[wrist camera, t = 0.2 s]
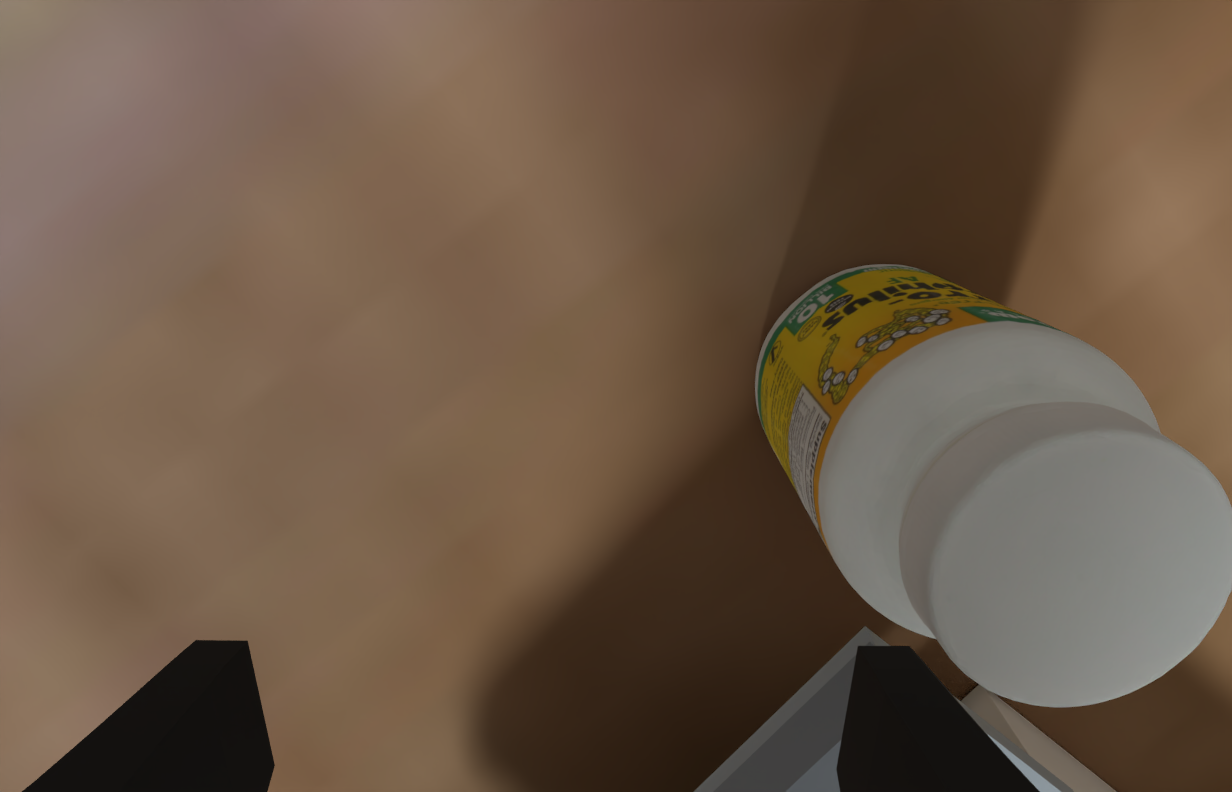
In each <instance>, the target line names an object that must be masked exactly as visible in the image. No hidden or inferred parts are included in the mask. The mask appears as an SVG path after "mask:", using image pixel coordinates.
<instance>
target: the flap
mask: <svg viewBox="0 0 1232 792" xmlns="http://www.w3.org/2000/svg"><path fill="white" fill-rule="evenodd" d="M858 646H890V645H889V644H887V643H886V642H885V641H884V640H882V639H881V638H880V637H878V636H877V635H876V634H875V633H873V632H872V631H871V630H870V629H868V628H867V627H866V626H865V627H863V628H862V629H861V630H860V631H859V632H858V633H857V634H856V635H855V636H854V637H853V638H852V639H851V640H850V641H849V642H848V643H847V644H846V645H845V646H844V647H843V648H842V649H841V650H840V651H839V652H838V653H837V654H836V655H834V656H833V657H832V658H831V659H830V660H829V661H828V662H827V663H826V664H825V665H824V666H823V667H822V668H821V669H820V670H819V671H818V672H817V673H816V674H815V675H814V676H813V677H812V678H811V679H810V680H809V681H808V682H807V683H806V684H804V685H803V686H802V687H801V688H800V689H799V690H798V691H797V692H796V693H795V694H794V695H793V696H792V697H791V698H790V699H789V700H788V701H787V702H786V703H785V704H784V705H783V706H782V707H781V708H780V709H779V710H778V711H777V712H776V713H774V714H773V715H772V716H771V717H770V718H769V719H768V720H767V721H766V722H765V723H764V724H763V725H762V726H761V727H760V728H759V729H758V730H757V731H756V732H755V733H754V734H753V735H752V736H751V737H750V738H749V739H748V740H747V741H746V742H744V743H743V744H742V745H741V746H740V747H739V748H738V749H737V750H736V751H735V752H734V753H733V754H732V755H731V756H730V757H729V758H728V759H727V760H726V761H725V762H724V763H723V764H722V765H721V766H720V767H719V768H718V769H717V770H716V771H714V772H713V773H712V774H711V775H710V776H709V777H708V778H707V779H706V780H705V781H704V782H703V783H702V784H701V785H700V786H699V787H698V788H697V789H696V790H695V791H694V792H840V787H839V782H838V776H837V771H836V768H837V762H838V756H839V751H840V745H841V739H842V733H843V728H844V722H845V716H846V711H847V705H848V699H849V693H850V688H851V682H852V676H853V671H854V665H855V659H856V653H857V648H858ZM954 697H955V696H954ZM955 699H956V700H957V701H958V702H959V703H960V704H961V705H962V707H963V708H964V709H965V710H966V711H967V712H968V713H969V715H970V716H971V717H972V718H973V719H974V720H975V721H976V723H977V724H978V725H979V726H980V727H981V728H982V729H983V730H984V732H985V733H986V734H987V735H988V736H989V737H990V738H991V739H992V741H993V742H994V743H995V744H996V745H997V746H998V747H999V748H1000V749H1001V750H1002V752H1003V753H1004V754H1005V755H1006V756H1007V757H1008V758H1009V759H1010V760H1011V761H1012V762H1013V764H1014V765H1015V766H1016V767H1017V768H1018V769H1019V770H1020V771H1021V772H1022V773H1023V774H1024V775H1025V776H1026V777H1027V778H1028V779H1029V781H1030V782H1031V783H1032V784H1033V785H1034V786H1035V787H1036V788H1037V789H1038V790H1039V791H1040V792H1074V791H1073V790H1072V789H1071V788H1070V787H1069V786H1067V785H1066V784H1065V783H1064V782H1062V781H1061V780H1060V779H1059V778H1057V777H1056V776H1055V775H1054V774H1052V773H1051V772H1050V771H1048V770H1047V769H1046V768H1045V767H1043V766H1042V765H1041V764H1040V763H1038V762H1037V761H1036V760H1035V759H1033V758H1032V757H1031V756H1029V755H1028V754H1027V753H1026V752H1024V751H1023V750H1022V749H1021V748H1019V747H1018V746H1017V745H1015V744H1014V743H1013V742H1012V741H1010V740H1009V739H1008V738H1007V737H1005V736H1004V735H1003V734H1002V733H1000V732H999V731H998V730H996V729H995V728H994V727H993V726H991V725H990V724H989V723H988V722H986V721H985V720H984V719H983V718H981V717H980V716H979V715H977V714H976V713H975V712H974V711H972V710H971V709H970V708H969V707H967V706H966V705H965V704H963V703H962V702H961V701H960V700H958V699H957V698H956V697H955Z"/></svg>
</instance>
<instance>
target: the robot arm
mask: <svg viewBox="0 0 1232 792" xmlns="http://www.w3.org/2000/svg"><path fill="white" fill-rule="evenodd" d="M274 766H275V765H274V760H273V756H272V751H271V747H270V742H269V737H268V733H267V728H266V724H265V719H264V714H263V710H262V705H261V701H260V696H259V691H258V687H257V682H256V677H255V673H254V668H253V664H252V659H251V654H250V650H249V645H248V641H214V640H196V641H194V642H193V643H192V644H191V645H190V646H189V647H187V648H186V649H185V650H184V651H183V652H181V653H180V654H179V655H178V656H177V657H176V658H175V659H173V660H172V661H171V662H170V663H169V664H168V665H167V666H165V667H164V668H163V669H162V670H161V671H160V672H159V673H158V674H156V675H155V676H154V677H153V678H152V679H151V680H150V681H149V682H148V683H146V684H145V685H144V686H143V687H142V688H141V689H140V690H139V691H137V692H136V693H135V694H134V695H133V696H132V697H131V698H130V699H129V700H127V701H126V702H125V703H124V704H123V705H122V706H121V707H120V708H118V709H117V710H116V711H115V712H114V713H113V714H112V715H110V716H109V717H108V718H107V719H106V720H105V721H104V722H103V723H101V724H100V725H99V726H98V727H97V728H96V729H95V730H93V731H92V732H91V733H90V734H89V735H88V736H87V737H85V738H84V739H83V740H82V741H81V742H80V743H78V744H77V745H76V746H75V747H74V748H73V749H72V750H70V751H69V752H68V753H67V754H66V755H65V756H63V757H62V758H61V759H60V760H59V761H58V762H57V763H55V764H54V765H53V766H52V767H51V768H50V769H48V770H47V771H46V772H45V773H44V774H43V775H41V776H40V777H39V778H38V779H37V780H36V781H34V782H33V783H32V784H31V785H30V786H28V787H27V788H26V789H25V790H23V791H22V792H267V791H268V787H269V784H270V780H271V777H272V773H273V769H274ZM836 771H837V776H838V782H839V787H840V792H1040V791H1039V790H1038V789H1037V788H1036V787H1035V786H1034V785H1033V784H1032V783H1031V782H1030V781H1029V779H1028V778H1027V777H1026V776H1025V775H1024V774H1023V773H1022V772H1021V771H1020V770H1019V769H1018V768H1017V767H1016V766H1015V765H1014V764H1013V762H1012V761H1011V760H1010V759H1009V758H1008V757H1007V756H1006V755H1005V754H1004V753H1003V752H1002V750H1001V749H1000V748H999V747H998V746H997V745H996V744H995V743H994V742H993V741H992V739H991V738H990V737H989V736H988V735H987V734H986V733H985V732H984V730H983V729H982V728H981V727H980V726H979V725H978V724H977V723H976V721H975V720H974V719H973V718H972V717H971V716H970V715H969V713H968V712H967V711H966V710H965V709H964V708H963V707H962V705H961V704H960V703H959V702H958V701H957V700H956V699H955V697H954V696H953V695H952V694H951V693H950V692H949V691H948V689H947V688H946V687H945V686H944V685H943V684H942V682H941V681H940V680H939V679H938V678H937V677H936V676H935V674H934V673H933V672H932V671H931V670H930V669H929V668H928V666H927V665H926V664H925V663H924V662H923V661H922V660H921V658H920V657H919V656H918V655H917V654H916V653H915V652H914V651H913V650H912V649H911V647H910V646H858V648H857V653H856V659H855V665H854V671H853V676H852V682H851V688H850V693H849V699H848V705H847V711H846V716H845V722H844V728H843V733H842V739H841V745H840V751H839V756H838V762H837V768H836Z"/></svg>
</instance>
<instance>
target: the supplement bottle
mask: <svg viewBox="0 0 1232 792" xmlns="http://www.w3.org/2000/svg"><path fill="white" fill-rule="evenodd" d="M755 397H756V405H757V411H758V414H759V418H760V421H761V424H762V427H763V429H764V432H765V434H766V436H767V438H768V440H769V443H770V445H771V447H772V449H773V451H774V452H775V454H776V456H777V458H778V460H779V462H780V463H781V465H782V467H783V468H784V470H785V472H786V474H787V475H788V477H789V479H790V481H791V483H792V485H793V486H794V488H795V490H796V492H797V494H798V495H799V497H800V499H801V502H802V503H803V505H804V507H805V509H806V511H807V512H808V514H809V516H810V518H811V520H812V522H813V524H814V525H815V527H816V529H817V531H818V533H819V534H820V536H821V538H822V540H823V542H824V544H825V545H826V547H827V549H828V551H829V552H830V554H831V556H832V558H833V560H834V561H835V563H836V565H837V566H838V568H839V569H840V571H841V572H842V574H843V575H844V577H845V578H846V580H847V581H848V583H849V584H850V585H851V586H852V588H853V589H854V590H855V591H856V592H857V593H858V594H859V595H860V596H861V597H862V598H863V599H864V600H865V601H866V602H867V603H868V604H869V605H870V606H872V607H873V608H874V609H875V610H876V611H878V612H879V613H881V614H882V615H884V616H885V617H886V618H888V619H889V620H891V621H893V622H895V623H896V624H898V625H900V626H902V627H904V628H906V629H909V630H911V631H913V632H915V633H918V634H921V635H924V636H927V637H930V638H934V639H937V641H938V642H939V644H940V645H941V647H942V648H943V649H944V651H945V652H946V654H947V655H948V656H949V658H950V659H951V660H952V661H953V662H954V664H955V665H956V666H957V667H958V668H959V669H960V670H961V671H962V672H963V673H964V674H965V675H967V676H968V677H969V678H971V679H972V680H974V681H975V682H976V683H978V684H979V685H981V686H982V687H984V688H985V689H987V690H989V691H991V692H993V693H995V694H997V695H1000V696H1002V697H1005V698H1008V699H1011V700H1013V701H1017V702H1022V703H1026V704H1030V705H1035V706H1045V707H1056V708H1057V707H1076V706H1086V705H1092V704H1097V703H1101V702H1105V701H1108V700H1112V699H1115V698H1118V697H1121V696H1124V695H1126V694H1129V693H1131V692H1133V691H1136V690H1138V689H1140V688H1141V687H1144V686H1145V685H1147V684H1149V683H1151V682H1153V681H1154V680H1156V679H1158V678H1159V677H1161V676H1163V675H1164V674H1165V673H1166V672H1167V671H1169V670H1170V669H1172V668H1173V667H1174V666H1176V665H1177V664H1178V663H1179V662H1180V661H1182V660H1183V659H1184V658H1185V657H1186V656H1187V655H1189V654H1190V653H1191V652H1192V651H1193V650H1194V649H1195V648H1196V647H1197V646H1198V645H1199V643H1200V642H1201V641H1202V640H1203V638H1204V637H1205V636H1206V635H1207V633H1208V632H1209V630H1210V629H1211V628H1212V627H1213V625H1214V623H1215V622H1216V620H1217V618H1218V616H1219V615H1220V613H1221V611H1222V610H1223V608H1224V606H1225V604H1226V601H1227V598H1228V596H1229V594H1230V592H1231V590H1232V507H1231V505H1230V502H1229V499H1228V497H1227V495H1226V493H1225V491H1224V489H1223V488H1222V486H1221V484H1220V482H1219V481H1218V480H1217V479H1216V477H1215V476H1214V475H1213V474H1212V473H1211V472H1210V471H1209V469H1208V468H1207V467H1206V466H1205V465H1204V464H1203V463H1202V462H1201V461H1199V460H1198V459H1197V458H1196V457H1195V456H1193V455H1192V454H1191V453H1190V452H1188V451H1187V450H1186V449H1184V448H1182V447H1181V446H1179V445H1178V444H1176V443H1175V442H1173V441H1172V440H1170V439H1169V438H1167V437H1165V436H1164V435H1162V434H1161V433H1160V429H1159V426H1158V424H1157V421H1156V418H1155V416H1154V414H1153V412H1152V410H1151V408H1150V406H1149V404H1148V402H1147V401H1146V399H1145V397H1144V396H1143V394H1142V392H1141V391H1140V389H1139V388H1138V387H1137V385H1136V384H1135V383H1134V381H1133V380H1132V379H1131V378H1130V377H1129V376H1128V375H1127V374H1126V373H1125V371H1124V370H1122V369H1121V368H1120V367H1119V366H1118V365H1117V364H1116V363H1115V362H1114V361H1113V360H1111V359H1110V358H1109V357H1107V356H1106V355H1105V354H1103V353H1102V352H1101V351H1099V350H1098V349H1096V348H1094V347H1093V346H1091V345H1089V344H1087V343H1086V342H1084V341H1082V340H1080V339H1078V338H1076V337H1074V336H1072V335H1070V334H1068V333H1065V332H1063V331H1060V330H1058V329H1056V328H1054V327H1052V326H1049V325H1047V324H1045V323H1042V322H1040V321H1038V320H1036V319H1033V318H1031V317H1028V316H1026V315H1024V314H1022V313H1019V312H1017V311H1015V310H1013V309H1010V308H1008V307H1005V306H1003V305H1000V304H998V303H996V302H994V301H992V300H990V299H988V298H985V297H983V296H980V295H978V294H976V293H974V292H972V291H969V290H967V289H965V288H963V287H960V286H959V285H957V284H955V283H952V282H950V281H947V280H945V279H943V278H940V277H938V276H936V275H933V274H931V273H929V272H926V271H924V270H921V269H917V268H914V267H909V266H904V265H896V264H874V265H865V266H860V267H855V268H850V269H846V270H843V271H841V272H838V273H836V274H834V275H831V276H829V277H827V278H825V279H824V280H822V281H820V282H819V283H817V284H816V285H815V286H813V287H812V288H811V289H809V290H808V291H807V292H805V293H804V294H803V295H802V296H800V297H799V298H798V299H797V300H796V301H795V302H793V303H792V304H791V305H790V306H789V307H788V308H787V309H786V310H785V311H784V312H783V313H782V315H781V316H780V317H779V318H778V320H777V321H776V322H775V324H774V325H773V327H772V328H771V330H770V331H769V333H768V335H767V337H766V339H765V341H764V343H763V346H762V348H761V351H760V355H759V359H758V362H757V367H756V375H755Z"/></svg>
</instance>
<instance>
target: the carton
mask: <svg viewBox="0 0 1232 792" xmlns="http://www.w3.org/2000/svg"><path fill="white" fill-rule="evenodd" d="M961 702H962V703H963V704H965V705H966V706H967V707H969V708H970V709H971V710H972V711H974V712H975V713H976V714H977V715H979V716H980V717H981V718H983V719H984V720H985V721H986V722H988V723H989V724H990V725H991V726H993V727H994V728H995V729H996V730H998V731H999V732H1000V733H1002V734H1003V735H1004V736H1005V737H1007V738H1008V739H1009V740H1010V741H1012V742H1013V743H1014V744H1015V745H1017V746H1018V747H1019V748H1021V749H1022V750H1023V751H1024V752H1026V753H1027V754H1028V755H1029V756H1031V757H1032V758H1033V759H1035V760H1036V761H1037V762H1038V763H1040V764H1041V765H1042V766H1043V767H1045V768H1046V769H1047V770H1048V771H1050V772H1051V773H1052V774H1054V775H1055V776H1056V777H1057V778H1059V779H1060V780H1061V781H1062V782H1064V783H1065V784H1066V785H1067V786H1069V787H1070V788H1071V789H1072V790H1073V791H1074V792H1117V791H1115V790H1114V789H1113V788H1112V787H1110V786H1109V785H1108V784H1107V783H1105V782H1104V781H1103V780H1102V779H1100V778H1099V777H1098V776H1097V775H1095V774H1094V773H1093V772H1092V771H1090V770H1089V769H1088V768H1087V767H1085V766H1084V765H1083V764H1082V763H1080V762H1079V761H1078V760H1077V759H1075V758H1074V757H1073V756H1072V755H1070V754H1069V753H1068V752H1067V751H1065V750H1064V749H1063V748H1062V747H1060V746H1059V745H1058V744H1057V743H1055V742H1054V741H1053V740H1052V739H1050V738H1049V737H1048V736H1047V735H1045V734H1044V733H1043V732H1042V731H1040V730H1039V729H1038V728H1037V727H1035V726H1034V725H1033V724H1032V723H1030V722H1029V721H1028V720H1027V719H1025V718H1024V717H1023V716H1022V715H1020V714H1019V713H1018V712H1017V711H1015V710H1014V709H1013V708H1012V707H1010V706H1009V705H1008V704H1007V703H1005V702H1004V701H1003V700H1002V699H1000V698H999V697H998V696H997V695H995V694H994V693H993V692H991V691H989V690H987V689H985V688H984V687H982V686H981V685H978V686H977V687H976V688H974V689H973V690H972V691H971V692H970V693H969V694H968V695H967V696H966V697H965V698H963V699H962V700H961Z"/></svg>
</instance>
